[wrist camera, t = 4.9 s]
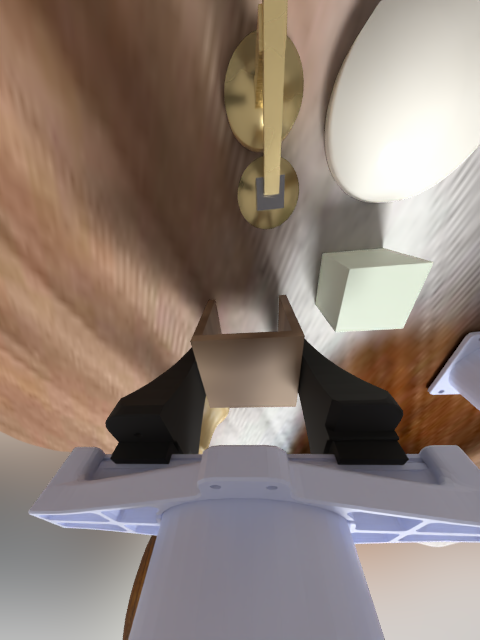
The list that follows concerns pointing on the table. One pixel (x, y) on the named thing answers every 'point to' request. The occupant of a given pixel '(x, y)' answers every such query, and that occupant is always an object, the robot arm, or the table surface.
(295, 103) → the balance
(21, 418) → the table surface
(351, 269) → the block
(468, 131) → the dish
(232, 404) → the cover
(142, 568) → the hand bell
